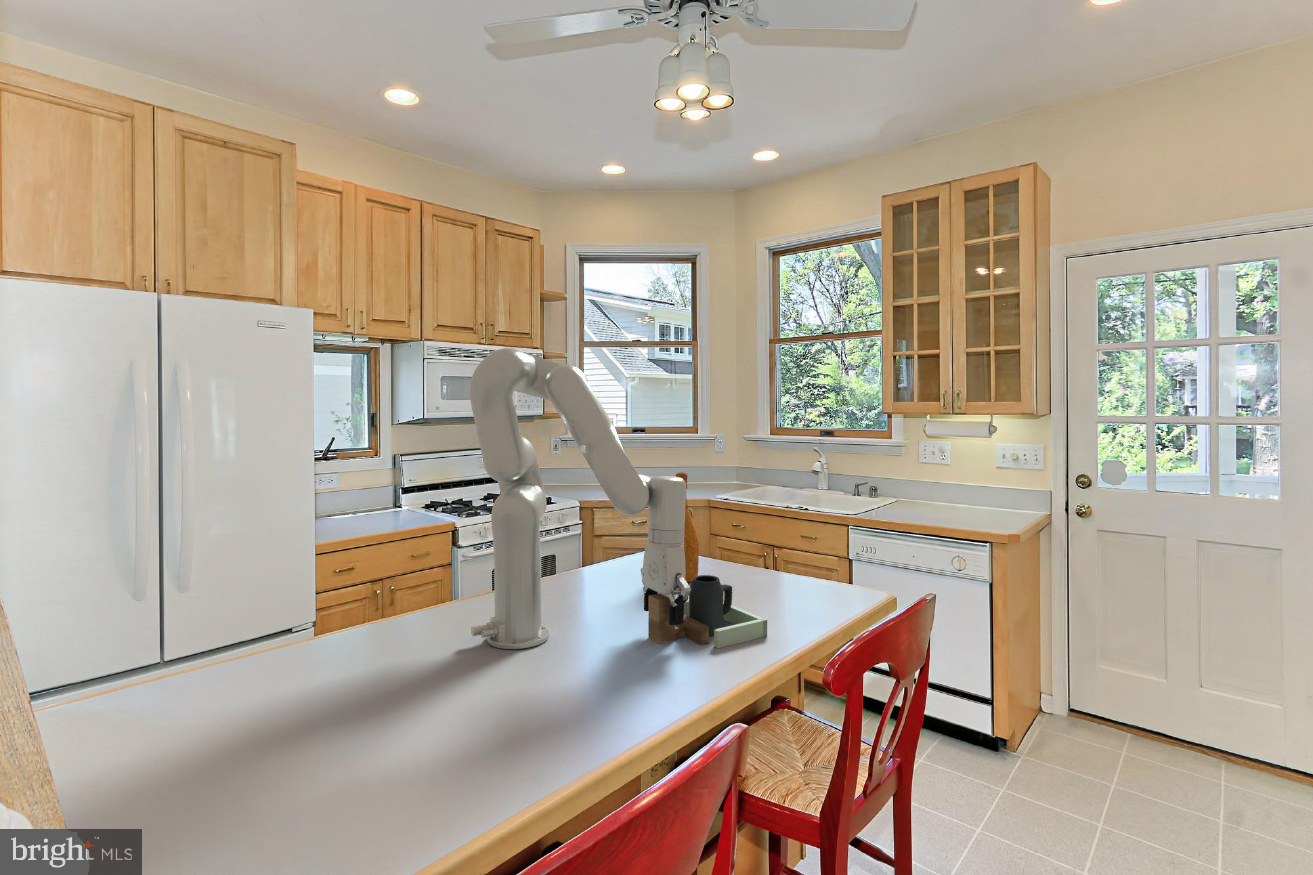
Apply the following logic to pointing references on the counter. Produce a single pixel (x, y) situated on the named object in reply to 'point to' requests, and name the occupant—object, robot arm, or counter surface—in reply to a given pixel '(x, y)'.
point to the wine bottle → (690, 540)
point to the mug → (709, 601)
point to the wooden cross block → (665, 632)
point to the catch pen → (737, 627)
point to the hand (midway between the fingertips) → (663, 617)
